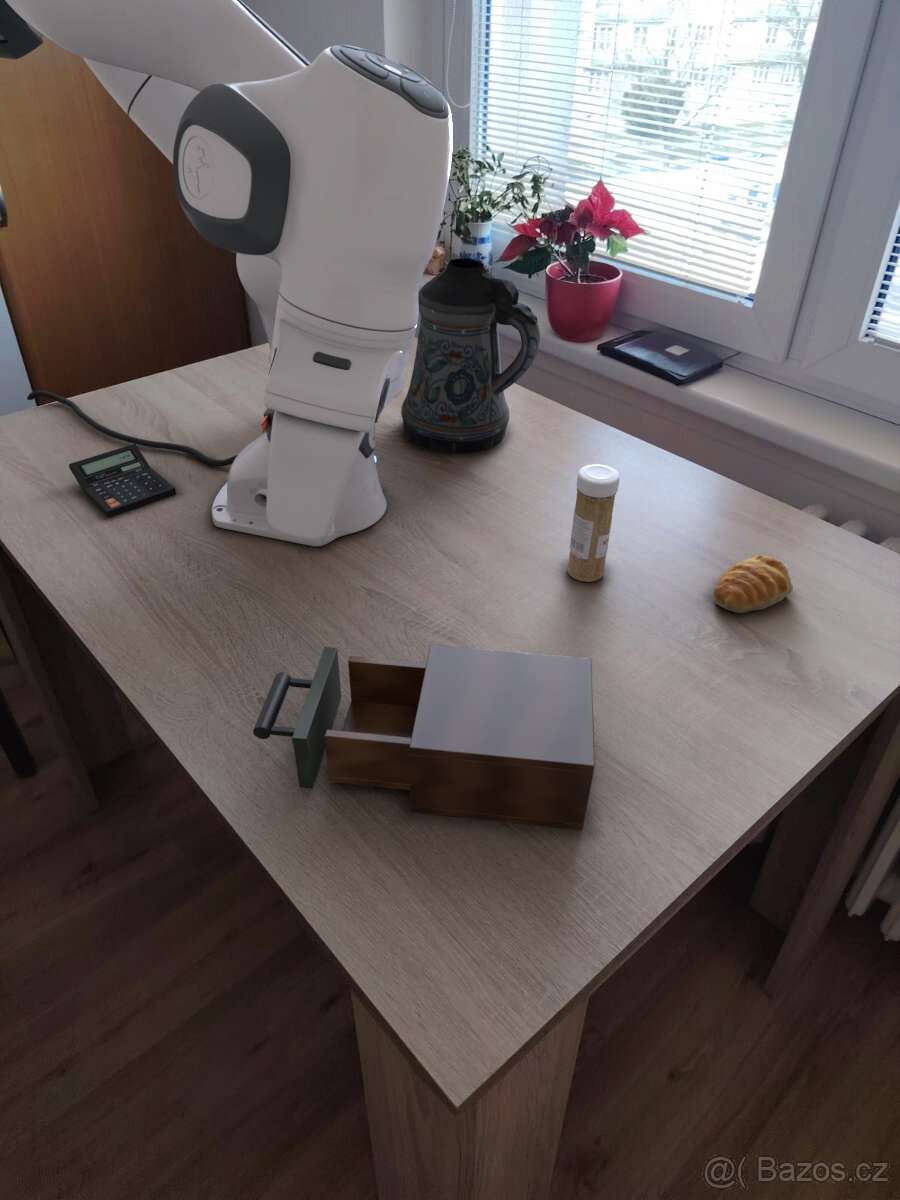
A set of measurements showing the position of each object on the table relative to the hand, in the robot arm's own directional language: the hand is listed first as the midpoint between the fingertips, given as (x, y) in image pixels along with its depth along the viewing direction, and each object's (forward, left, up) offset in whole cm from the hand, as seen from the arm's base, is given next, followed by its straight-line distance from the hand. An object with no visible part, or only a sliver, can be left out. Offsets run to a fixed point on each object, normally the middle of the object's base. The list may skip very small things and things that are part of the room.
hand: (307, 532), depth 61 cm
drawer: (+3, 0, -23) cm, 23 cm away
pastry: (+42, +30, -24) cm, 57 cm away
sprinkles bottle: (+23, +31, -24) cm, 46 cm away
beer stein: (+5, +66, -24) cm, 71 cm away
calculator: (-39, +42, -24) cm, 62 cm away
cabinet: (+15, 0, -24) cm, 29 cm away
